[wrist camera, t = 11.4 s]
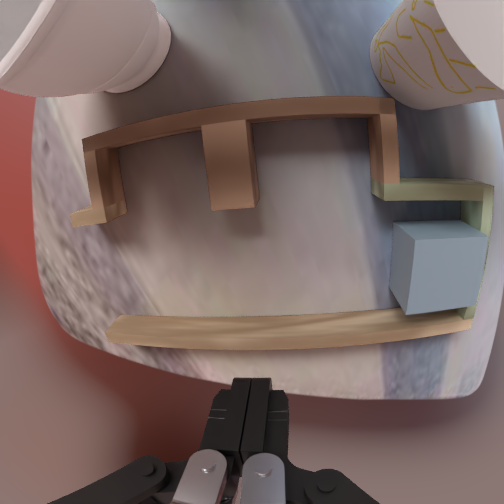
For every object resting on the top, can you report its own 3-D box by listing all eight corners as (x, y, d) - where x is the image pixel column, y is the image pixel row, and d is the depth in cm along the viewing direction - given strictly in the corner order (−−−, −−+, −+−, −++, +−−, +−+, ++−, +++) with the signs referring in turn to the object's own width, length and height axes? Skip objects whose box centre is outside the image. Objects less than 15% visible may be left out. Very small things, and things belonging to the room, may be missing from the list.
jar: (144, -14, 17) (48, -85, 3) (208, 42, 19) (113, -52, 5) (69, 63, 20) (-51, 47, 6) (118, 127, 22) (-24, 136, 8)
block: (392, 221, 23) (415, 240, 18) (459, 219, 22) (488, 236, 17) (388, 285, 25) (405, 315, 20) (451, 279, 24) (475, 305, 19)
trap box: (82, 144, 23) (59, 147, 20) (469, 113, 18) (491, 111, 15) (124, 323, 30) (108, 342, 26) (455, 310, 24) (470, 329, 21)
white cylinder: (356, 24, 17) (402, -53, 6) (437, 24, 16) (511, -25, 4) (385, 114, 20) (466, 94, 8) (464, 107, 18) (560, 101, 7)
